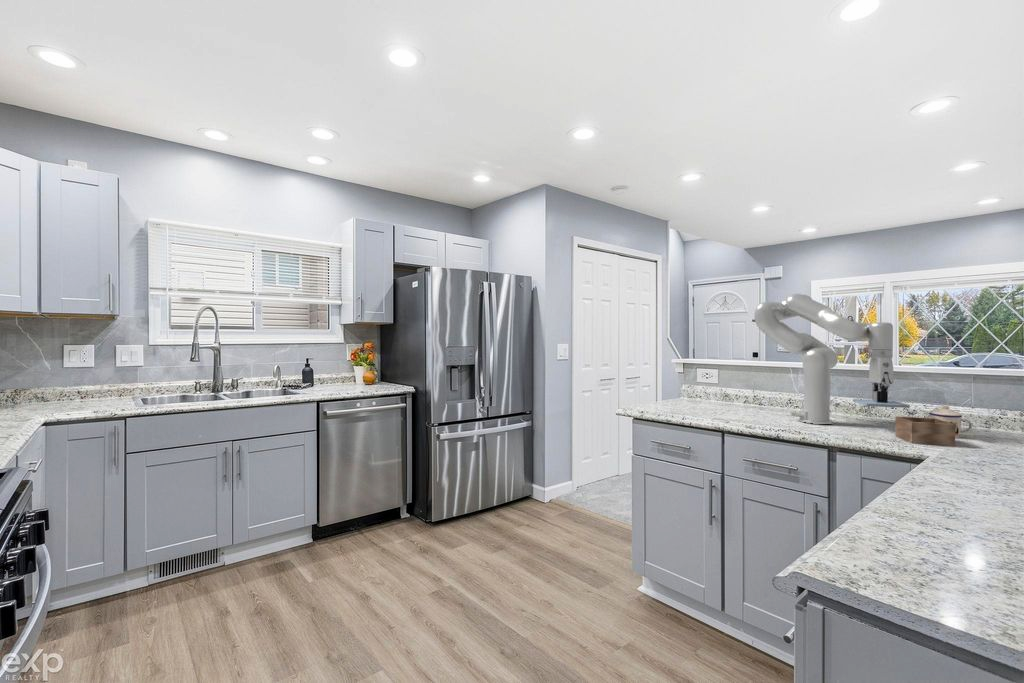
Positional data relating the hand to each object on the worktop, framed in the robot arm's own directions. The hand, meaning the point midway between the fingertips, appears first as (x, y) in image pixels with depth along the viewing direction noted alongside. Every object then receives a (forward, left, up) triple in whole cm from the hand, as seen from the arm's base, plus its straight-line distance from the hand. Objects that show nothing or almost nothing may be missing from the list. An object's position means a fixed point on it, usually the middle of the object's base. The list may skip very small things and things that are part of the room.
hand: (879, 400), depth 187 cm
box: (+6, -20, -12) cm, 24 cm away
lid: (0, 0, -2) cm, 2 cm away
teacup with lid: (+20, -6, -12) cm, 24 cm away
